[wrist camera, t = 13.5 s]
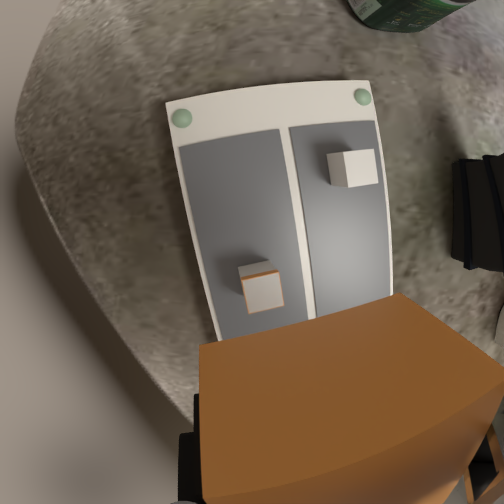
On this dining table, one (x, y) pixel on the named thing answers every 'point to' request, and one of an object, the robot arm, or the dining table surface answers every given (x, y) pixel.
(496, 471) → the robot arm
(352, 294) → the board
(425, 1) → the coffee jar
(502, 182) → the magazine
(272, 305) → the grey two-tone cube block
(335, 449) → the cap
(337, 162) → the lever
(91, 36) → the dining table surface
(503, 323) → the paper towel roll
